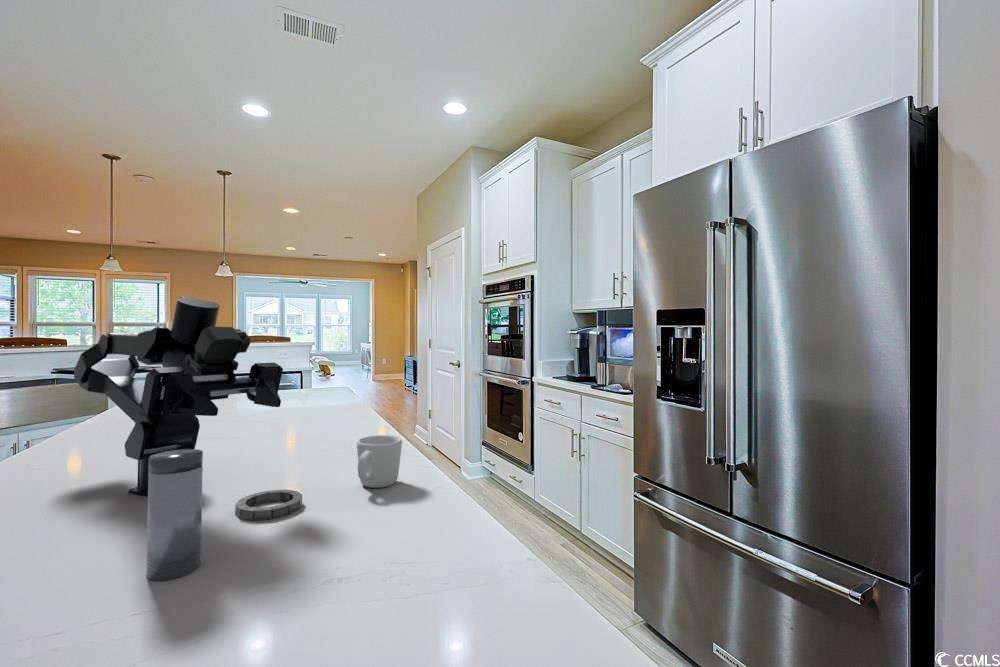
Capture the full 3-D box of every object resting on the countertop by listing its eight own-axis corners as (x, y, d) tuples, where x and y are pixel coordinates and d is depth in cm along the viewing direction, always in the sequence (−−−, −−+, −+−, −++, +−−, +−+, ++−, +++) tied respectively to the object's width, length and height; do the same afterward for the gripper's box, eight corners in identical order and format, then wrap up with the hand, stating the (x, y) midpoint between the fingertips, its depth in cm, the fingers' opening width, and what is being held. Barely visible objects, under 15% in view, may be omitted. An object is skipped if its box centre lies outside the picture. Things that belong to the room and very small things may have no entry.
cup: (382, 498, 75) (383, 450, 75) (338, 494, 76) (339, 447, 76) (408, 478, 85) (409, 436, 85) (369, 475, 87) (370, 433, 87)
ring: (221, 516, 66) (221, 506, 66) (267, 496, 75) (267, 487, 75) (272, 523, 64) (273, 513, 64) (313, 501, 73) (313, 492, 73)
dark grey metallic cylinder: (134, 577, 50) (137, 458, 50) (177, 556, 55) (179, 447, 55) (170, 584, 48) (173, 462, 49) (211, 561, 53) (213, 451, 53)
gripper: (134, 317, 63) (189, 357, 56) (262, 322, 79) (318, 353, 72) (121, 391, 65) (172, 439, 57) (249, 381, 81) (302, 418, 74)
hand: (249, 408), depth 65 cm, fingers open, 9 cm apart
